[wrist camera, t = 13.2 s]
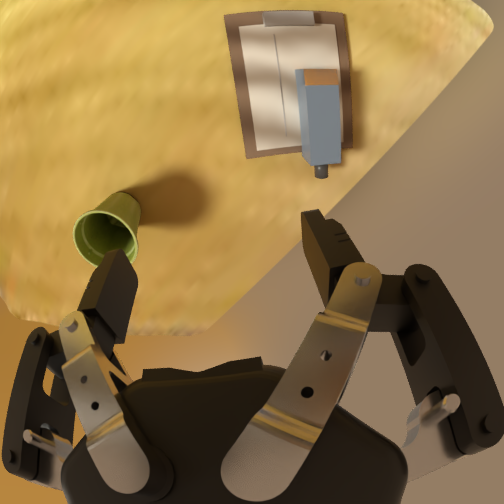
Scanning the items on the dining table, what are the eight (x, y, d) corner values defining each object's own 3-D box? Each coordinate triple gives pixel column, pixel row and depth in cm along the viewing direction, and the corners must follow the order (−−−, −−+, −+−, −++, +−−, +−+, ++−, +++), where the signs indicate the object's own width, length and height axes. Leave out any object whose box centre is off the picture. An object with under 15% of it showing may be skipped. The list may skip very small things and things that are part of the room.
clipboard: (223, 16, 23) (223, 13, 21) (340, 13, 23) (346, 11, 21) (246, 157, 35) (247, 161, 33) (350, 146, 35) (356, 150, 33)
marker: (294, 69, 27) (303, 69, 24) (325, 69, 27) (337, 69, 24) (303, 172, 36) (311, 183, 33) (330, 169, 36) (340, 180, 33)
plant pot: (155, 235, 41) (143, 271, 34) (102, 236, 40) (84, 271, 33) (148, 179, 35) (130, 208, 28) (90, 184, 34) (64, 213, 27)
